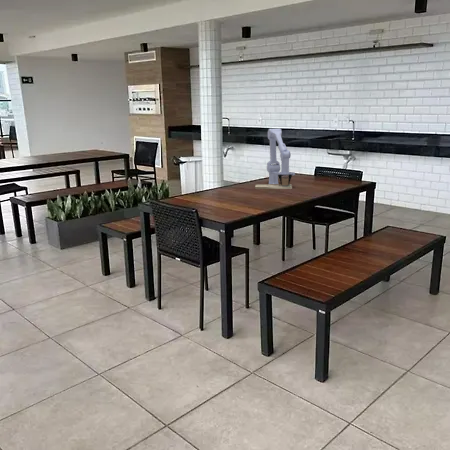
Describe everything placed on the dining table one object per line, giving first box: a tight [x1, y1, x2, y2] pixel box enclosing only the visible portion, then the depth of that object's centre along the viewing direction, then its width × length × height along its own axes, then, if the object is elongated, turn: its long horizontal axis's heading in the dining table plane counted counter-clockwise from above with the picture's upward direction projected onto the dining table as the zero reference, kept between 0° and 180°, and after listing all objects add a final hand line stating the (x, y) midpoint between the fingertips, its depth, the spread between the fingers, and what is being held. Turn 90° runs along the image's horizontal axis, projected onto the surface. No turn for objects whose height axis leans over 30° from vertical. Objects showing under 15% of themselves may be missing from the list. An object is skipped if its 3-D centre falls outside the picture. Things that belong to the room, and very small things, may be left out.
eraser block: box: [282, 176, 289, 187], centre depth 366 cm, size 7×5×6 cm
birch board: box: [254, 184, 293, 190], centre depth 368 cm, size 10×28×2 cm, turn 84°
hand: (285, 184), depth 366 cm, fingers closed on eraser block, 5 cm apart
